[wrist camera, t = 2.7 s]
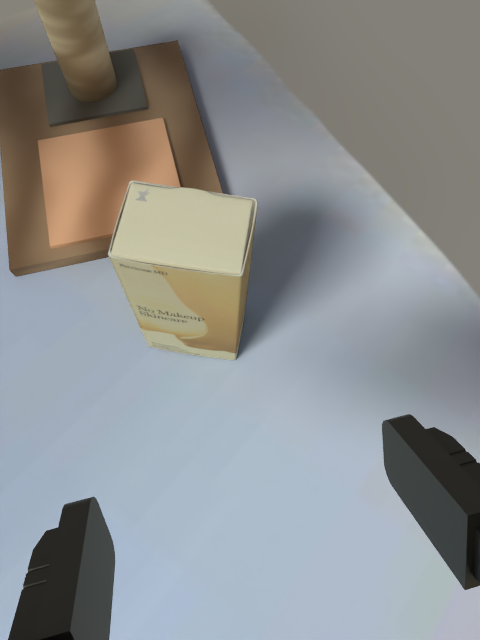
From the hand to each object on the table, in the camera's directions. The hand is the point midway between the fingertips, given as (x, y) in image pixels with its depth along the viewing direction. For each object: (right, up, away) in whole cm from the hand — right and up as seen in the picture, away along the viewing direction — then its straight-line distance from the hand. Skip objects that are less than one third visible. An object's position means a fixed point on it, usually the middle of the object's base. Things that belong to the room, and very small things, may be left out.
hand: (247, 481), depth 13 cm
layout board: (-11, +18, +25) cm, 33 cm away
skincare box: (-3, +4, +19) cm, 20 cm away
